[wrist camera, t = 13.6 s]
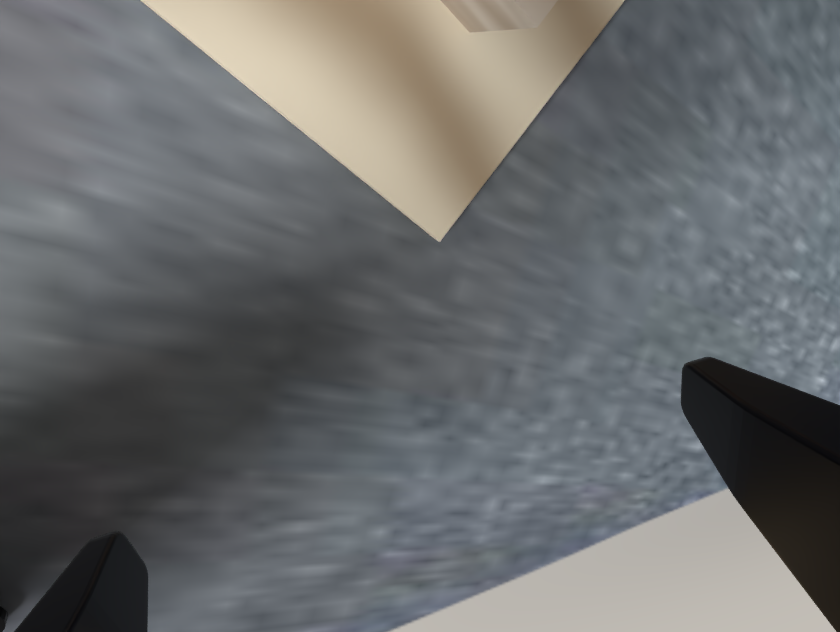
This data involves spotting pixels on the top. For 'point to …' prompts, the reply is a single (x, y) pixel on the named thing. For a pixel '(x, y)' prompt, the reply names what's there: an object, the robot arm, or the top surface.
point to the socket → (401, 80)
